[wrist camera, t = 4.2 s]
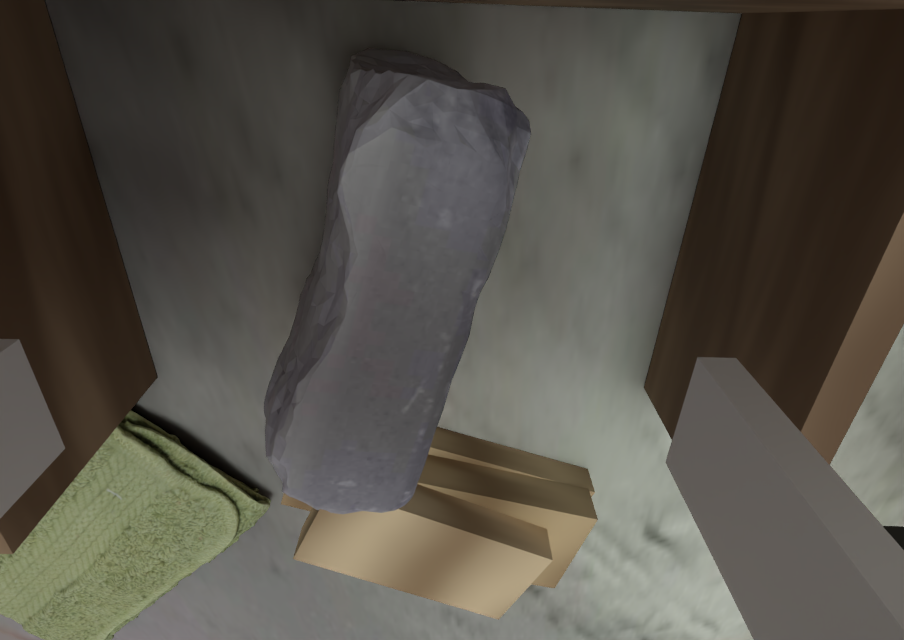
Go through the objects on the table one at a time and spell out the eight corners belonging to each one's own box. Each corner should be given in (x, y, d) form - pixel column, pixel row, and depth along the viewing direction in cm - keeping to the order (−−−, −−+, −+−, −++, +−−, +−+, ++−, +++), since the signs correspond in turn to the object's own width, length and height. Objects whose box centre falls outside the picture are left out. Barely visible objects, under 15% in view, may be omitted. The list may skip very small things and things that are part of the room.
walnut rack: (130, 376, 24) (-276, 831, 10) (-18, -71, 16) (-2637, -585, 2) (670, 388, 24) (940, 834, 11) (794, -39, 16) (2389, -313, 3)
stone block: (418, 356, 23) (399, 557, 14) (309, 327, 22) (221, 522, 14) (515, 72, 18) (581, 122, 9) (375, 22, 17) (296, 23, 8)
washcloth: (289, 485, 28) (271, 537, 25) (116, 621, 34) (85, 676, 31) (48, 328, 23) (-7, 371, 20) (-104, 519, 29) (-163, 573, 26)
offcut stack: (290, 476, 27) (258, 567, 23) (317, 386, 24) (287, 470, 20) (536, 538, 30) (552, 631, 25) (587, 463, 27) (615, 552, 22)
